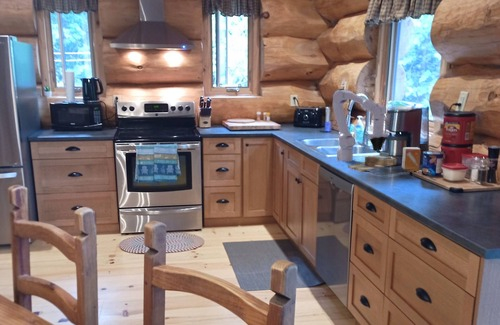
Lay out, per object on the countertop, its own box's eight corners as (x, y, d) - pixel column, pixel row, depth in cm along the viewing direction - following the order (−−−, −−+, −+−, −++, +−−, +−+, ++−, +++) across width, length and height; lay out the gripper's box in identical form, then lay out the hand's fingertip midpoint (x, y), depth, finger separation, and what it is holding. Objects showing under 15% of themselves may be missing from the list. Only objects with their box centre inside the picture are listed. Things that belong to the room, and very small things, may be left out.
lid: (372, 157, 263) (372, 152, 263) (380, 155, 267) (380, 151, 266) (382, 159, 256) (382, 154, 256) (391, 158, 260) (391, 153, 259)
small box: (404, 172, 247) (405, 148, 245) (401, 169, 254) (402, 146, 251) (419, 172, 247) (420, 149, 244) (416, 169, 253) (417, 146, 250)
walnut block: (364, 168, 258) (365, 156, 257) (369, 167, 261) (370, 156, 259) (369, 169, 255) (370, 158, 254) (374, 168, 257) (375, 157, 256)
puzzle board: (348, 168, 258) (348, 159, 257) (378, 163, 271) (379, 155, 270) (364, 172, 247) (365, 163, 246) (395, 167, 260) (396, 158, 259)
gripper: (374, 128, 249) (373, 152, 252) (392, 126, 256) (391, 149, 259) (365, 127, 255) (364, 150, 257) (383, 125, 262) (382, 148, 265)
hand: (377, 150), depth 259 cm, fingers open, 3 cm apart
